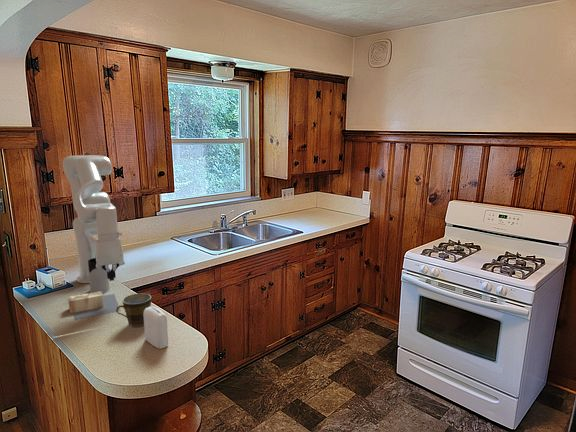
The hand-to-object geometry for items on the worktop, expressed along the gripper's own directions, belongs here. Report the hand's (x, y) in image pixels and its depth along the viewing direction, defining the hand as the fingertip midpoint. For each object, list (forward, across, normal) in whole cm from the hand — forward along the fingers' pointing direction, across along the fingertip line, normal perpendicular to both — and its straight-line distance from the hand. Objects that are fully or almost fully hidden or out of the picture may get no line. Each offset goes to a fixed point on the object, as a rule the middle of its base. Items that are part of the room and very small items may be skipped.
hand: (111, 279), depth 158 cm
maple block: (+8, +4, 0) cm, 8 cm away
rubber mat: (+11, +7, 0) cm, 12 cm away
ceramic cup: (+11, -5, +24) cm, 27 cm away
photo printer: (+11, -9, +41) cm, 43 cm away
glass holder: (+11, +4, -20) cm, 23 cm away
